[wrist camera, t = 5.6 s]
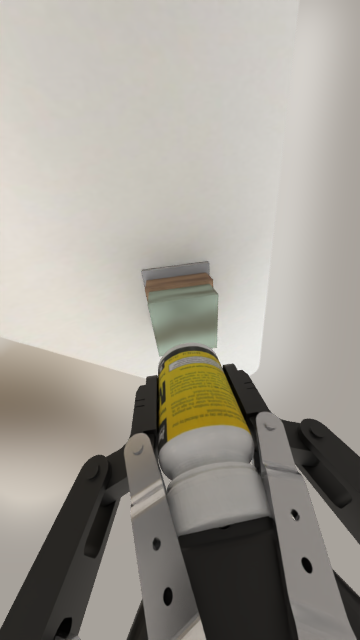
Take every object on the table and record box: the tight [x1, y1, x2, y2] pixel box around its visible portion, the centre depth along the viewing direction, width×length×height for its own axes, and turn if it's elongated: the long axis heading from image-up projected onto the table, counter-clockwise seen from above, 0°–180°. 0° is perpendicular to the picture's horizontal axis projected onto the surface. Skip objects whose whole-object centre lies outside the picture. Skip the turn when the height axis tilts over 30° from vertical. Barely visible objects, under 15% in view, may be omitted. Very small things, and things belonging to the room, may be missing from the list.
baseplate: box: [141, 261, 209, 286], centre depth 31 cm, size 13×11×1 cm
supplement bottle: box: [158, 343, 271, 537], centre depth 10 cm, size 5×5×8 cm
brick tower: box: [145, 273, 218, 357], centre depth 27 cm, size 10×10×8 cm
